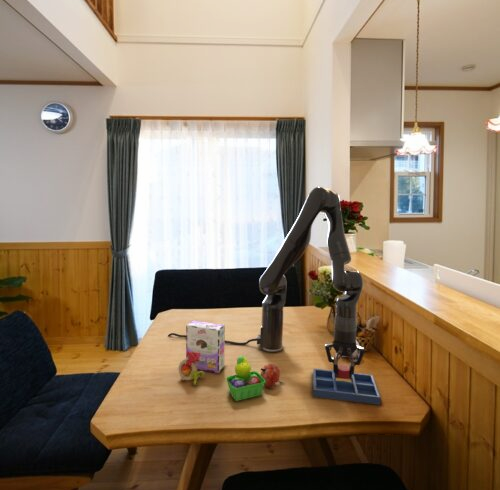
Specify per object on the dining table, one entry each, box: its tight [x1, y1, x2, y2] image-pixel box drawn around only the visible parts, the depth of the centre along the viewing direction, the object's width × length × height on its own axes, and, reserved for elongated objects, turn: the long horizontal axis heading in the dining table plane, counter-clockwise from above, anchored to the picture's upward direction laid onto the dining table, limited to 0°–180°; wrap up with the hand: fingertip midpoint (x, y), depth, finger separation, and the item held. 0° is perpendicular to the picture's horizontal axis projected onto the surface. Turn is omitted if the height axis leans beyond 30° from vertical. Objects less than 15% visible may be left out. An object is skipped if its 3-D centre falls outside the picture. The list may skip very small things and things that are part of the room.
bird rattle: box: [178, 351, 205, 386], centre depth 121 cm, size 6×11×9 cm
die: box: [341, 339, 361, 358], centre depth 144 cm, size 8×9×10 cm
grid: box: [312, 368, 381, 405], centre depth 119 cm, size 21×14×2 cm
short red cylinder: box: [337, 364, 350, 379], centre depth 122 cm, size 4×4×3 cm
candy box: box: [185, 320, 226, 374], centre depth 131 cm, size 14×6×16 cm, turn 71°
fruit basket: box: [225, 355, 265, 402], centre depth 114 cm, size 11×9×11 cm
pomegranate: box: [259, 363, 282, 389], centre depth 120 cm, size 7×7×10 cm
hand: (343, 374), depth 122 cm, fingers closed on short red cylinder, 4 cm apart
